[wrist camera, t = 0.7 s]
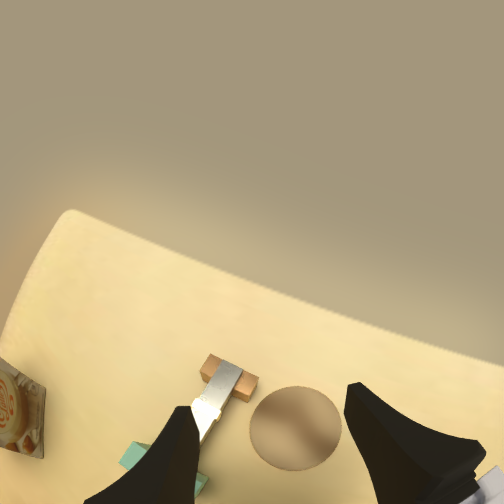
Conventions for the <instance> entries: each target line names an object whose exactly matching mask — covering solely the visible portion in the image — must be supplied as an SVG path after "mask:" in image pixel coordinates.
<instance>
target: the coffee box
mask: <svg viewBox="0 0 504 504" xmlns="http://www.w3.org/2000/svg"><path fill="white" fill-rule="evenodd" d="M44 401H45V388H44V387H42V386H41V385H39V384H38V383H36V382H34V381H33V380H31V379H30V378H28V377H27V376H25V375H24V374H22V373H21V372H20V371H18V370H17V369H15V368H14V367H13V366H11V365H10V364H9V363H7V362H6V361H5V360H3V359H2V358H1V357H0V447H2V448H5V449H8V450H12V451H15V452H19V453H22V454H25V455H29V456H32V457H36V458H40V459H42V458H43V415H44Z"/></svg>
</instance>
